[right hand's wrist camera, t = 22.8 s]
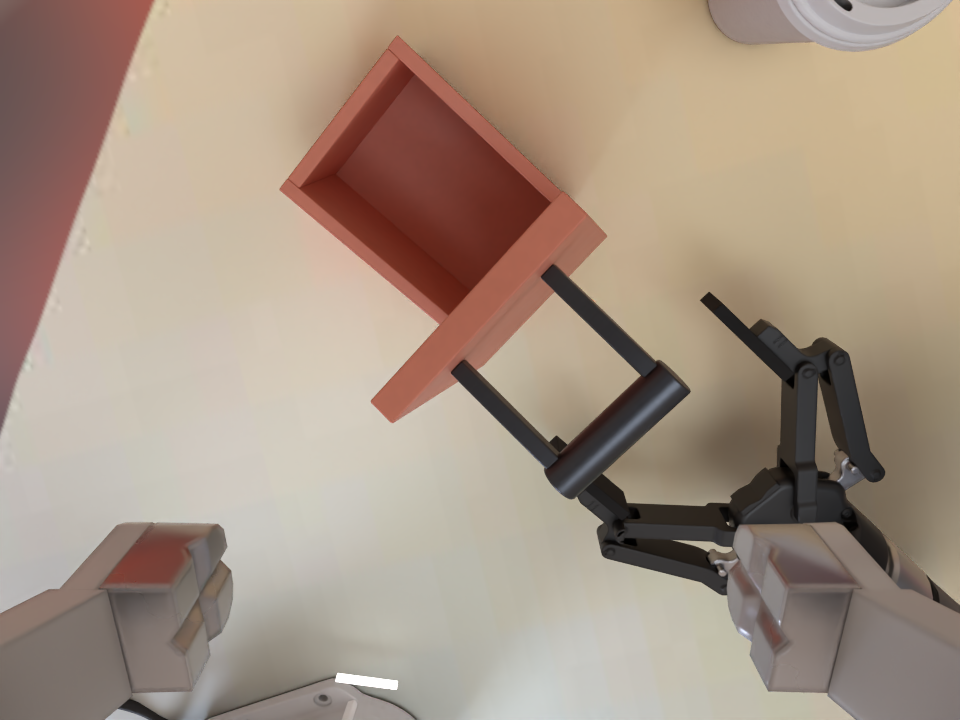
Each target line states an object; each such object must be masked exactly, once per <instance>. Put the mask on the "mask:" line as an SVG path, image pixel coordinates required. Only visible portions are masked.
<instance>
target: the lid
mask: <svg viewBox="0 0 960 720" xmlns="http://www.w3.org/2000/svg"><path fill="white" fill-rule="evenodd" d="M606 237H607V235H606V234H605V233H604V232H603V230H602V229H601V228H600V227H599V226H598V225H597V224H596V223H595V222H594V221H593V220H592V219H591V217H590V216H589V215H588V214H587V213H586V212H585V211H584V210H583V209H582V208H581V207H580V206H578V205H577V204H576V203H575V202H574V201H573V200H572V199H571V198H570V197H569V196H568V195H567V194H566V193H565V192H561V193H560V194H559V195H558V196H557V197H556V198H555V199H554V200H553V202H552V203H551V204H550V205H549V206H548V207H547V208H546V209H545V210H544V211H543V213H542V214H541V215H540V216H539V217H538V218H537V219H536V220H535V221H534V222H533V224H532V225H531V226H530V227H529V228H528V229H527V230H526V231H525V232H524V233H523V234H522V236H521V237H520V238H519V239H518V240H517V241H516V242H515V243H514V244H513V245H512V247H511V248H510V249H509V250H508V251H507V252H506V253H505V254H504V255H503V256H502V257H501V259H500V260H499V261H498V262H497V263H496V264H495V265H494V266H493V267H492V268H491V270H490V271H489V272H488V273H487V274H486V275H485V276H484V277H483V278H482V279H481V280H480V282H479V283H478V284H477V285H476V286H475V287H474V288H473V289H472V290H471V291H470V293H469V294H468V295H467V296H466V297H465V298H464V299H463V300H462V301H461V302H460V303H459V305H458V306H457V307H456V308H455V309H454V310H453V311H452V312H451V313H450V314H449V316H448V317H447V318H446V319H445V320H444V321H443V322H442V323H441V324H440V325H439V326H438V328H437V329H436V330H435V331H434V332H433V333H432V334H431V335H430V336H429V337H428V339H427V340H426V341H425V342H424V343H423V344H422V345H421V346H420V347H419V348H418V349H417V351H416V352H415V353H414V354H413V355H412V356H411V357H410V358H409V359H408V360H407V362H406V363H405V364H404V365H403V366H402V367H401V368H400V369H399V370H398V371H397V372H396V374H395V375H394V376H393V377H392V378H391V379H390V380H389V381H388V382H387V383H386V385H385V386H384V387H383V388H382V389H381V390H380V391H379V392H378V393H377V394H376V395H375V397H374V398H373V399H372V400H371V403H372V404H373V405H374V406H375V407H376V408H377V409H378V410H379V411H380V412H381V413H382V414H383V415H384V416H385V417H386V418H387V419H388V420H389V421H390V422H391V423H394V422H396V421H397V420H399V419H400V418H402V417H403V416H405V415H407V414H408V413H410V412H411V411H413V410H414V409H416V408H417V407H419V406H421V405H422V404H424V403H425V402H427V401H428V400H430V399H432V398H433V397H435V396H436V395H438V394H439V393H441V392H443V391H444V390H446V389H447V388H449V387H450V386H452V385H454V384H455V383H457V382H458V381H459V382H460V383H461V384H462V385H463V386H464V387H465V388H466V389H467V390H468V391H469V392H470V393H471V394H472V395H473V396H474V397H475V398H476V399H477V400H478V401H479V402H480V403H481V404H482V405H483V406H484V407H485V408H486V409H487V410H488V411H489V412H490V413H491V414H492V415H493V416H494V417H495V418H496V419H497V420H498V421H499V422H500V423H501V424H502V425H503V426H504V427H505V428H506V429H507V430H508V431H509V432H510V433H511V434H512V435H513V436H514V437H515V438H516V439H517V440H518V441H519V442H520V443H521V444H522V445H523V446H524V447H525V448H526V449H527V450H528V451H529V452H530V453H531V454H532V455H533V456H534V457H535V458H536V459H537V460H538V461H539V462H540V463H541V464H542V465H543V466H544V467H545V468H544V472H545V475H546V477H547V479H548V480H549V482H550V483H551V484H552V486H553V487H554V488H555V489H556V490H557V491H558V492H559V493H561V494H562V495H563V496H565V497H566V498H568V499H574V498H576V497H577V496H578V495H579V494H580V493H581V492H582V491H583V490H584V489H585V488H587V487H588V486H589V485H590V484H591V483H592V482H593V481H594V480H595V479H596V478H597V477H599V476H600V475H601V474H602V473H603V472H604V471H605V470H606V469H607V468H608V467H609V466H611V465H612V464H613V463H614V462H615V461H616V460H617V459H618V458H619V457H620V456H622V455H623V454H624V453H625V452H626V451H627V450H628V449H629V448H630V447H631V446H632V445H634V444H635V443H636V442H637V441H638V440H639V439H640V438H641V437H642V436H643V435H644V434H646V433H647V432H648V431H649V430H650V429H651V428H652V427H653V426H654V425H655V424H657V423H658V422H659V421H660V420H661V419H662V418H663V417H664V416H665V415H666V414H667V413H669V412H670V411H671V410H672V409H673V408H674V407H675V406H676V405H677V404H678V403H679V402H681V401H682V400H683V399H684V398H685V397H686V396H687V395H688V394H689V393H690V392H691V391H690V389H689V387H688V386H687V385H686V384H685V383H684V382H683V381H682V380H681V378H680V377H679V376H678V375H677V374H676V373H675V372H673V371H672V370H671V369H670V368H669V367H668V366H667V365H666V364H665V363H663V362H662V361H660V360H657V361H655V360H654V359H653V358H652V357H651V356H650V355H649V354H648V353H647V352H646V351H645V350H644V349H643V348H641V347H640V346H639V345H638V344H637V343H636V342H635V341H634V340H633V339H632V338H631V337H630V336H629V335H628V334H627V333H626V332H625V331H624V330H623V329H622V328H621V327H620V326H619V325H618V324H617V323H616V322H615V321H614V320H612V319H611V318H610V317H609V316H608V315H607V314H606V313H605V312H604V311H603V310H602V309H601V308H600V307H599V306H598V305H597V304H596V303H595V302H594V301H593V300H592V299H591V298H590V297H589V296H588V295H587V294H586V293H585V292H583V291H582V290H581V289H580V288H579V287H578V286H577V285H576V284H575V283H574V282H573V281H572V280H571V279H570V278H569V276H570V275H571V274H572V273H573V272H574V271H575V270H576V268H577V267H578V266H579V265H580V264H581V263H582V262H583V261H584V260H585V259H586V258H587V257H588V256H589V255H590V254H591V253H592V252H593V251H594V250H595V249H596V248H597V247H598V246H599V244H600V243H601V242H602V241H603V240H604V239H605V238H606ZM554 291H555V292H556V293H557V294H558V295H559V296H560V297H561V298H562V299H563V300H564V301H565V302H566V303H567V304H568V305H569V306H570V307H571V308H572V309H573V310H574V311H575V312H576V313H577V314H578V315H579V316H580V317H581V318H582V319H584V320H585V321H586V322H587V323H588V324H589V325H590V326H591V327H592V328H593V329H594V330H595V331H596V332H597V333H598V334H599V335H600V336H601V337H602V338H603V339H604V340H605V341H606V342H607V343H608V344H609V345H610V346H611V347H612V348H613V349H614V350H615V351H617V352H618V353H619V354H620V355H621V356H622V357H623V358H624V359H625V360H626V361H627V362H628V363H629V364H630V365H631V366H632V367H633V368H634V369H635V370H636V371H637V372H638V373H639V374H640V375H641V376H640V377H639V378H638V379H637V380H636V381H635V382H634V383H633V384H632V385H631V386H629V387H628V388H627V389H626V390H625V391H624V392H623V393H622V394H621V395H620V396H619V397H618V398H617V399H616V400H615V401H614V402H613V403H612V404H610V405H609V406H608V407H607V408H606V409H605V410H604V411H603V412H602V413H601V414H600V415H599V416H598V417H597V418H596V419H595V420H594V421H593V422H591V423H590V424H589V425H588V426H587V427H586V428H585V429H584V430H583V431H582V432H581V433H580V434H579V435H578V436H577V437H576V438H575V439H574V440H573V441H571V442H570V443H569V444H568V445H567V446H566V447H565V448H564V449H563V450H562V451H561V452H560V453H559V452H558V451H557V450H556V449H555V448H554V447H553V446H552V445H551V444H550V443H549V442H548V441H547V440H546V439H545V438H544V437H543V436H542V435H541V434H540V433H539V432H538V431H537V430H536V429H535V428H534V427H533V426H532V425H531V424H530V423H529V422H528V421H527V420H526V419H525V418H524V417H523V416H522V415H521V414H520V413H519V412H518V411H517V410H516V409H515V408H514V407H513V406H512V405H511V404H510V403H509V402H508V401H507V400H506V399H505V398H504V397H503V396H502V395H501V394H500V393H499V392H498V391H497V390H496V389H495V388H494V387H493V386H492V385H491V384H490V383H489V382H488V381H487V380H486V379H485V378H484V377H483V376H482V375H481V374H480V373H479V372H478V371H477V369H479V368H480V367H482V366H483V365H484V364H485V363H486V362H487V361H488V360H489V359H490V358H491V357H492V356H493V355H494V354H495V353H496V352H497V351H498V350H499V349H500V348H501V347H502V346H503V345H504V344H505V343H506V341H507V340H508V339H509V338H510V337H511V336H512V335H513V334H514V333H515V332H516V331H517V330H518V329H519V328H520V327H521V326H522V325H523V324H524V323H525V322H526V321H527V320H528V319H529V317H530V316H531V315H532V314H533V313H534V312H535V311H536V310H537V309H538V308H539V307H540V306H541V305H542V304H543V303H544V302H545V301H546V300H547V299H548V298H549V297H550V296H551V295H552V293H553V292H554Z"/></svg>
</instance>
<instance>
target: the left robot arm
mask: <svg viewBox="0 0 960 720" xmlns="http://www.w3.org/2000/svg"><path fill="white" fill-rule="evenodd" d="M700 301H701V302H702V303H703V304H704V305H705V306H706V307H707V308H708V309H709V310H710V311H711V312H713V313H714V314H715V315H716V316H717V317H718V318H719V319H720V320H721V321H722V322H723V323H724V324H725V325H726V326H727V327H728V328H729V329H730V330H731V331H732V332H733V333H734V334H735V335H736V336H737V337H738V338H740V339H741V340H742V341H743V342H744V343H745V344H746V345H747V346H748V347H749V348H750V349H751V350H752V351H753V352H754V353H755V354H756V355H757V356H758V357H759V358H760V359H761V360H762V361H763V362H764V363H765V364H766V365H768V366H769V367H770V368H771V369H772V370H773V371H774V372H775V373H776V374H777V375H778V376H779V377H780V378H781V379H782V391H781V438H780V445H779V446H778V448H777V467H775V468H771V469H769V470H768V469H767V468H764V469H763V470H762V471H760V472H759V473H758V474H757V475H756V476H755V477H754V479H753V480H752V481H751V483H750V484H748V485H746V486H744V487H742V488H740V489H738V490H737V491H736V492H735V493H733V494H732V495H731V496H730V497H731V498H732V500H731V502H730V504H729V503H708V504H707V505H706V506H683V505H659V504H635V503H627V502H626V499H625V496H624V493H623V491H622V490H621V489H619V488H618V487H617V486H616V485H615V484H614V483H612V482H611V481H610V480H609V479H608V478H606V477H605V476H604V475H603V474H601V475H600V476H599V477H597V478H596V479H595V480H594V481H593V482H592V483H591V484H590V485H589V486H588V487H587V488H585V489H584V490H583V491H582V492H581V493H580V494H579V495H578V496H577V497H578V499H579V501H580V503H581V504H582V505H584V506H585V507H586V508H587V509H588V510H590V511H591V512H592V513H593V514H595V515H596V516H597V517H598V518H599V519H601V520H602V521H603V522H604V523H603V524H602V525H600V526H599V527H598V528H597V535H598V540H599V544H600V549H601V553H602V555H603V557H605V558H607V559H610V560H614V561H618V562H622V563H626V564H630V565H634V566H638V567H642V568H646V569H650V570H654V571H658V572H662V573H666V574H670V575H674V576H678V577H682V578H686V579H690V580H694V581H698V582H702V583H703V584H705V585H706V586H708V587H709V588H711V589H713V590H714V591H716V592H717V593H719V594H721V595H727V582H728V574H729V570H730V569H731V568H732V567H733V566H734V565H735V564H736V563H737V562H738V561H739V560H740V559H739V557H738V555H737V554H736V552H735V550H734V548H733V543H734V537H735V533H736V531H737V529H738V526H739V525H757V524H803V523H822V522H836V523H839V524H841V525H843V526H844V527H845V528H846V529H847V530H848V531H849V532H850V533H851V535H852V536H853V537H854V538H855V539H856V540H857V541H858V542H859V543H860V545H861V546H862V547H863V548H864V549H865V550H866V551H867V552H868V553H869V555H870V556H871V557H872V558H873V559H874V560H875V561H876V562H877V563H878V565H879V566H880V567H881V568H882V569H883V570H884V571H885V572H886V574H887V575H888V576H889V577H890V578H891V579H892V580H893V581H894V582H895V584H896V585H897V586H898V587H899V588H900V589H911V590H913V591H915V592H917V593H919V594H921V595H923V596H925V597H927V598H929V599H931V600H933V601H935V602H937V603H939V604H941V605H943V606H945V607H947V608H949V609H951V610H953V611H955V612H957V613H959V614H960V605H959V604H958V603H957V602H955V601H954V600H953V599H952V598H951V597H950V596H949V595H947V594H946V593H945V592H944V591H943V590H942V589H941V588H940V587H938V586H937V585H936V584H935V583H934V582H933V581H932V580H931V579H930V578H929V577H928V576H927V575H926V574H925V572H924V571H922V570H921V569H920V568H919V567H918V566H917V565H916V564H915V563H914V562H913V561H912V560H911V559H910V558H909V557H908V556H907V555H906V554H904V553H903V552H902V551H901V550H900V549H899V548H898V547H897V546H896V545H895V544H894V543H893V542H892V541H891V540H889V539H888V538H887V537H886V536H885V535H884V534H882V533H881V531H880V530H879V529H878V528H877V527H876V526H875V525H874V524H873V523H871V522H870V521H869V520H868V519H867V518H866V517H865V516H864V515H863V514H862V513H861V512H860V511H859V510H858V509H857V508H855V507H854V506H853V505H852V504H851V503H850V502H849V501H848V500H847V498H846V494H845V490H847V489H848V488H850V487H851V486H853V485H855V484H856V483H858V482H859V481H861V480H862V479H864V478H866V479H867V480H868V481H870V482H878V481H880V480H881V479H883V477H884V476H885V470H884V468H883V467H882V466H881V464H880V463H879V462H878V461H877V459H876V458H875V457H874V455H873V454H872V453H871V452H870V448H869V443H868V439H867V434H866V429H865V425H864V420H863V416H862V411H861V407H860V402H859V398H858V393H857V389H856V384H855V379H854V375H853V370H852V366H851V361H850V357H849V354H848V353H847V352H846V351H844V350H843V349H842V348H840V347H839V346H837V345H836V344H834V343H833V342H831V341H830V340H828V339H827V338H823V337H822V338H818V339H816V340H815V341H814V342H813V344H812V346H809V347H807V348H804V349H798V348H796V347H795V346H794V345H793V344H792V343H791V342H790V341H789V340H788V339H787V338H786V337H785V336H784V335H783V334H782V333H781V332H780V331H779V330H778V329H777V328H776V327H774V326H773V325H772V324H771V323H769V322H768V321H765V320H762V319H760V320H759V321H758V322H757V323H756V324H755V325H753V326H752V327H751V328H750V329H748V328H747V327H746V326H745V325H744V324H743V323H742V322H741V321H740V320H739V319H738V318H737V317H736V316H735V315H734V314H733V313H732V312H731V311H730V310H729V309H728V308H727V307H726V306H725V305H724V304H723V303H722V302H720V301H719V300H718V299H717V298H716V297H715V296H713V295H712V294H711V293H710V292H708V293H707V294H706V295H705V296H704V297H703V298H702V299H701V300H700ZM818 379H819V383H820V387H821V391H822V395H823V399H824V404H825V408H826V412H827V416H828V420H829V424H830V429H831V433H832V436H833V439H834V441H835V443H836V445H837V447H838V448H839V449H838V450H836V451H835V452H834V455H835V458H834V461H835V464H836V468H835V470H834V471H833V472H832V473H831V474H830V473H827V472H824V471H818V470H817V466H816V463H815V438H816V414H817V391H818ZM549 443H550V444H551V445H552V446H553V447H554V448H555V449H556V450H557V451H558V452H559V453H560V452H561V451H562V450H563V449H564V448H565V447H566V446H567V444H566V443H565V442H564V441H562V440H561V439H560V438H559V437H558V436H557V435H556V436H555V437H554V438H553V439H552V440H551V441H550V442H549ZM726 522H729V525H730V526H728V525H727V523H726ZM673 540H687V541H711V542H714V543H716V544H717V545H720V546H724V547H732V548H733V550H732V551H731V552H729V553H721V552H717V551H716V550H715V549H710V550H709V552H707V551H705V550H703V549H701V548H698V547H696V546H692V545H688V544H685V543H681V542H677V541H673Z"/></svg>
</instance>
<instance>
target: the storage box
mask: <svg viewBox="0 0 960 720" xmlns="http://www.w3.org/2000/svg"><path fill="white" fill-rule="evenodd" d="M280 191H281V192H283V193H284V194H285V195H286V196H287V197H289V198H290V199H291V200H292V201H293V202H294V203H296V204H297V205H298V206H299V207H300V208H302V209H303V210H304V211H305V212H306V213H308V214H309V215H310V216H311V217H312V218H314V219H315V220H316V221H317V222H318V223H319V224H321V225H322V226H323V227H324V228H325V229H327V230H328V231H329V232H330V233H331V234H333V235H334V236H335V237H336V238H337V239H339V240H340V241H341V242H342V243H343V244H344V245H346V246H347V247H348V248H349V249H350V250H352V251H353V252H354V253H355V254H356V255H358V256H359V257H360V258H361V259H362V260H364V261H365V262H366V263H367V264H368V265H369V266H371V267H372V268H373V269H374V270H375V271H377V272H378V273H379V274H380V275H381V276H383V277H384V278H385V279H386V280H387V281H389V282H390V283H391V284H392V285H393V286H394V287H396V288H397V289H398V290H399V291H400V292H402V293H403V294H404V295H405V296H406V297H408V298H409V299H410V300H411V301H412V302H414V303H415V304H416V305H417V306H418V307H419V308H421V309H422V310H423V311H424V312H425V313H427V314H428V315H429V316H430V317H431V318H433V319H434V320H435V321H436V322H437V323H439V324H441V323H442V322H443V321H444V320H445V319H446V318H447V317H448V316H449V314H450V313H451V312H452V311H453V310H454V309H455V308H456V307H457V306H458V305H459V303H460V302H461V301H462V300H463V299H464V298H465V297H466V296H467V295H468V294H469V293H470V291H471V290H472V289H473V288H474V287H475V286H476V285H477V284H478V283H479V282H480V280H481V279H482V278H483V277H484V276H485V275H486V274H487V273H488V272H489V271H490V270H491V268H492V267H493V266H494V265H495V264H496V263H497V262H498V261H499V260H500V259H501V257H502V256H503V255H504V254H505V253H506V252H507V251H508V250H509V249H510V248H511V247H512V245H513V244H514V243H515V242H516V241H517V240H518V239H519V238H520V237H521V236H522V234H523V233H524V232H525V231H526V230H527V229H528V228H529V227H530V226H531V225H532V224H533V222H534V221H535V220H536V219H537V218H538V217H539V216H540V215H541V214H542V213H543V211H544V210H545V209H546V208H547V207H548V206H549V205H550V204H551V203H552V202H553V200H554V199H555V198H556V197H557V196H558V195H559V194H560V193H561V191H560V190H559V189H558V188H557V187H556V186H555V185H554V184H553V183H552V182H551V181H550V180H549V179H547V178H546V177H545V176H544V175H543V174H542V173H541V172H540V171H539V170H538V169H537V168H536V167H535V166H534V165H533V164H532V163H531V162H530V161H529V160H528V159H527V158H525V157H524V156H523V155H522V154H521V153H520V152H519V151H518V150H517V149H516V148H515V147H514V146H513V145H512V144H511V143H510V142H509V141H508V140H507V139H506V138H505V137H504V136H502V135H501V134H500V133H499V132H498V131H497V130H496V129H495V128H494V127H493V126H492V125H491V124H490V123H489V122H488V121H487V120H486V119H485V118H484V117H483V116H482V115H481V114H479V113H478V112H477V111H476V110H475V109H474V108H473V107H472V106H471V105H470V104H469V103H468V102H467V101H466V100H465V99H464V98H463V97H462V96H461V95H460V94H459V93H457V92H456V91H455V90H454V89H453V88H452V87H451V86H450V85H449V84H448V83H447V82H446V81H445V80H444V79H443V78H442V77H441V76H440V75H439V74H438V73H437V72H436V71H434V70H433V69H432V68H431V67H430V66H429V65H428V64H427V63H426V62H425V61H424V60H423V59H422V58H421V57H420V56H419V55H418V54H417V53H416V52H415V51H414V50H412V49H411V48H410V47H409V46H408V45H407V44H406V43H405V42H404V41H403V40H402V39H401V38H400V37H399V36H396V37H395V39H394V40H393V41H392V43H391V44H390V45H389V47H388V49H386V51H385V52H384V53H383V55H382V56H381V57H380V59H379V60H378V61H377V62H376V64H375V65H374V66H373V68H372V69H371V70H370V72H369V73H368V74H367V75H366V77H365V78H364V79H363V81H362V82H361V83H360V85H359V86H358V87H357V89H356V90H355V91H354V92H353V94H352V95H351V96H350V98H349V99H348V100H347V102H346V103H345V104H344V106H343V107H342V108H341V109H340V111H339V112H338V113H337V115H336V116H335V117H334V119H333V120H332V121H331V123H330V124H329V125H328V126H327V128H326V129H325V130H324V132H323V133H322V134H321V136H320V137H319V138H318V139H317V141H316V142H315V143H314V145H313V146H312V147H311V149H310V150H309V151H308V153H307V154H306V155H305V156H304V158H303V159H302V160H301V162H300V163H299V164H298V166H297V167H296V168H295V170H294V171H293V172H292V173H291V175H290V176H289V179H287V180H286V181H285V182H284V184H283V185H282V186H281V188H280Z"/></svg>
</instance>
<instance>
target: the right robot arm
mask: <svg viewBox="0 0 960 720" xmlns="http://www.w3.org/2000/svg"><path fill="white" fill-rule="evenodd" d="M226 548H227V543H226V538H225V533H224V529H223V528H222V527H221V526H220V525H219V524H198V523H152V522H142V523H123V524H119V525H117V526H116V527H115V528H114V529H113V530H112V531H111V532H110V533H109V535H108V536H107V537H106V538H105V539H104V540H103V541H102V542H101V543H100V545H99V546H98V547H97V548H96V549H95V550H94V551H93V552H92V553H91V555H90V556H89V557H88V558H87V559H86V560H85V561H84V562H83V563H82V565H81V566H80V567H79V568H78V569H77V570H76V571H75V572H74V573H73V575H72V576H71V577H70V578H69V579H68V580H67V581H66V582H65V584H64V585H63V586H62V587H61V588H60V589H49V590H47V591H45V592H43V593H41V594H39V595H37V596H35V597H33V598H31V599H29V600H27V601H25V602H23V603H21V604H18V605H16V606H14V607H12V608H10V609H8V610H6V611H4V612H2V613H0V720H105V719H106V718H107V717H108V716H109V715H111V714H112V713H113V712H114V711H115V710H116V709H121V710H125V711H128V712H132V713H135V714H137V715H140V716H142V717H145V718H147V719H148V720H167V719H165V718H163V717H161V716H160V715H158V714H156V713H155V712H153V711H151V710H150V709H148V708H146V707H145V706H143V705H141V704H140V703H138V702H135V701H132V700H129V699H130V698H131V697H132V693H145V692H180V691H192V690H193V688H194V686H195V684H196V682H197V680H198V678H199V676H200V674H201V673H202V671H203V669H204V667H205V665H206V663H207V661H208V659H209V657H210V650H209V645H208V642H209V641H210V640H212V639H213V638H215V637H216V636H217V635H219V634H220V633H222V631H223V629H224V627H225V624H226V622H227V620H228V618H229V614H230V609H231V605H232V600H233V580H232V573H231V570H230V569H229V568H228V567H227V566H226V565H225V564H224V563H223V562H222V561H221V560H220V559H221V557H222V555H223V554H224V552H225V550H226ZM733 548H734V550H735V552H736V554H737V555H738V557H739V559H740V560H739V561H738V562H737V563H736V564H735V565H734V566H733V567H732V568H731V569H730V570H729V574H728V582H727V597H728V607H729V610H730V614H731V617H732V620H733V622H734V624H735V627H736V629H737V631H738V633H740V634H741V635H743V636H744V637H745V638H747V639H748V640H750V641H751V642H752V645H751V650H750V657H751V659H752V661H753V663H754V665H755V667H756V669H757V670H758V672H759V674H760V676H761V678H762V680H763V682H764V684H765V686H766V688H767V690H768V691H779V692H814V693H828V695H827V696H828V697H830V698H831V699H832V700H833V701H834V702H835V703H837V704H838V705H839V706H840V707H841V708H843V709H844V710H845V711H846V712H847V713H849V714H850V715H851V716H852V717H853V718H855V719H856V720H960V614H959V613H957V612H955V611H953V610H951V609H949V608H947V607H945V606H943V605H941V604H939V603H937V602H935V601H933V600H931V599H929V598H927V597H925V596H923V595H921V594H919V593H917V592H915V591H913V590H911V589H900V588H899V587H898V586H897V585H896V584H895V582H894V581H893V580H892V579H891V578H890V577H889V576H888V575H887V574H886V572H885V571H884V570H883V569H882V568H881V567H880V566H879V565H878V563H877V562H876V561H875V560H874V559H873V558H872V557H871V556H870V555H869V553H868V552H867V551H866V550H865V549H864V548H863V547H862V546H861V545H860V543H859V542H858V541H857V540H856V539H855V538H854V537H853V536H852V535H851V533H850V532H849V531H848V530H847V529H846V528H845V527H844V526H843V525H841V524H839V523H836V522H822V523H803V524H757V525H739V526H738V529H737V531H736V533H735V537H734V543H733ZM351 684H357V685H364V686H372V687H379V688H387V689H395V690H397V684H398V681H394V680H386V679H379V678H371V677H363V676H356V675H348V674H341V673H337V677H336V678H331V679H327V680H324V681H321V682H318V683H315V684H312V685H309V686H306V687H303V688H300V689H297V690H294V691H291V692H288V693H284V694H281V695H278V696H275V697H272V698H269V699H266V700H263V701H260V702H257V703H254V704H251V705H248V706H245V707H242V708H239V709H236V710H233V711H230V712H226V713H223V714H220V715H217V716H214V717H211V718H209V719H207V720H415V719H414V718H413V717H412V716H411V715H410V714H408V713H407V712H405V711H404V710H402V709H401V708H399V707H397V706H395V705H393V704H391V703H389V702H386V701H383V700H380V699H377V698H374V697H370V696H368V695H365V694H363V693H361V692H360V691H359V690H357V689H356V688H355V687H353V686H352V685H351Z"/></svg>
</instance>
